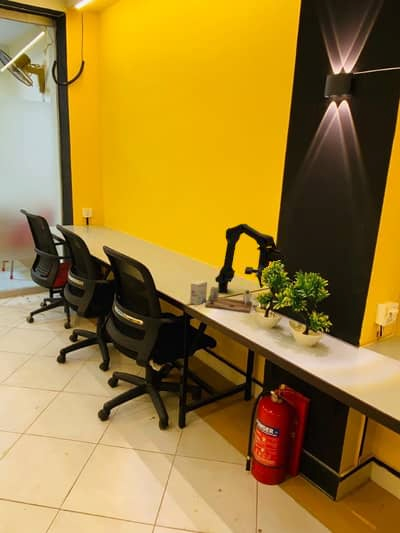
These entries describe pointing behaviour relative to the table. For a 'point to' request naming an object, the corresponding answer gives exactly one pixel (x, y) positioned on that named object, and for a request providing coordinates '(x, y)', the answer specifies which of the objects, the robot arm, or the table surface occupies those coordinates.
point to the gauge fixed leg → (214, 293)
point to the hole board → (229, 304)
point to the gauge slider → (246, 296)
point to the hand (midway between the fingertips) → (261, 287)
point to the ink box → (198, 292)
